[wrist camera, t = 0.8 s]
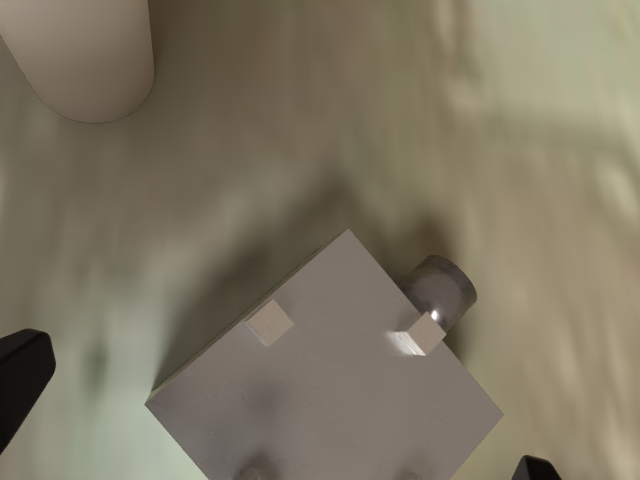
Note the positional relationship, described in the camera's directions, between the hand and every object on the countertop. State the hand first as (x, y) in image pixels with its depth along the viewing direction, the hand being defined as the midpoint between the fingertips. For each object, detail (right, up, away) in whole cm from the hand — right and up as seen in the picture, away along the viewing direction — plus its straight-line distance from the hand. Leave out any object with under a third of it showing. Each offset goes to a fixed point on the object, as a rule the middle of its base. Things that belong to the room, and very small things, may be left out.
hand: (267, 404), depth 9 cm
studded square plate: (+2, -3, +14) cm, 15 cm away
